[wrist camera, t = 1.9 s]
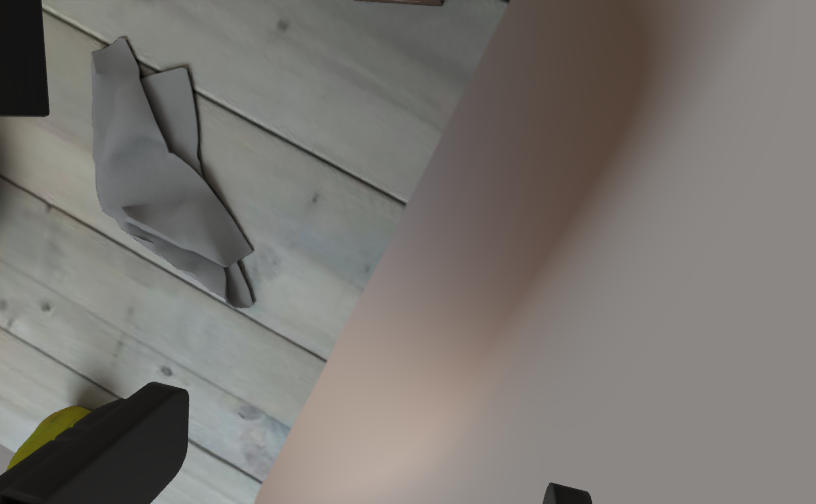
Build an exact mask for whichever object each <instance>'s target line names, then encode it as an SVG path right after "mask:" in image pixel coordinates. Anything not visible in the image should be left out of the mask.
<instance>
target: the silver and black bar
mask: <svg viewBox="0 0 816 504" xmlns="http://www.w3.org/2000/svg"><path fill="white" fill-rule="evenodd" d="M49 113H50V112H49V98H48V85H47V71H46V57H45V43H44V30H43V16H42V2H41V0H0V117H45V116H48V115H49Z"/></svg>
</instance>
